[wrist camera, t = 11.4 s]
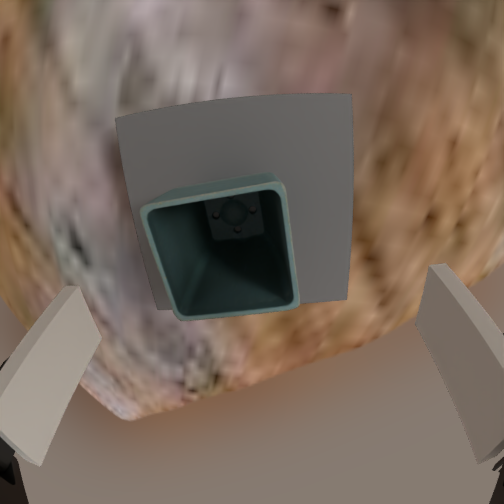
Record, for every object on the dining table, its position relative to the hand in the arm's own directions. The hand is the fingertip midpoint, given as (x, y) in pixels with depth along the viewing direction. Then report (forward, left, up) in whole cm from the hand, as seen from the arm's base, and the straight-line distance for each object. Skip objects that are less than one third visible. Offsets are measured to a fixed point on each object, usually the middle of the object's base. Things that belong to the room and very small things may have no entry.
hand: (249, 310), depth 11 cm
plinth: (+2, +3, -21) cm, 21 cm away
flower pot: (+2, +2, -17) cm, 17 cm away
